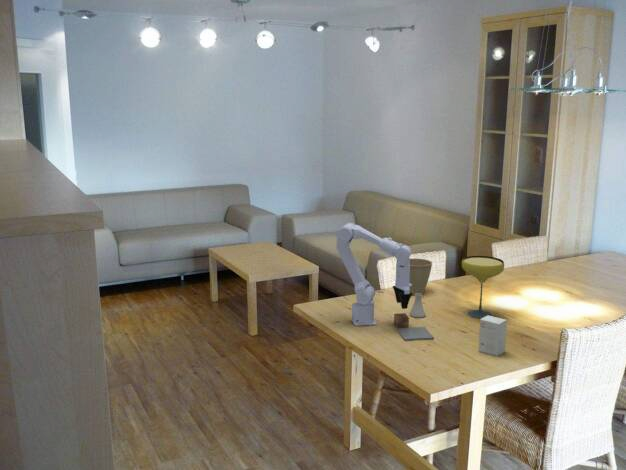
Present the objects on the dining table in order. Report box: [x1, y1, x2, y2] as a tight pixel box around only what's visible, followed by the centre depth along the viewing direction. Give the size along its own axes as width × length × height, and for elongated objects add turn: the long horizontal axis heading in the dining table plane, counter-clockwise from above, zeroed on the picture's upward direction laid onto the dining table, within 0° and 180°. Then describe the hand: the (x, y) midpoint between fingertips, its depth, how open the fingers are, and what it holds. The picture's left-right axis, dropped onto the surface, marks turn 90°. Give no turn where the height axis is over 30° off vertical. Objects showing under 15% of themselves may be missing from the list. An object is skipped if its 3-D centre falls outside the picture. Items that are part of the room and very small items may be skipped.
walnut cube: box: [393, 312, 410, 329], centre depth 265 cm, size 5×5×5 cm
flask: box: [409, 293, 427, 319], centre depth 278 cm, size 7×7×10 cm
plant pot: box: [409, 258, 433, 296], centre depth 309 cm, size 15×15×16 cm
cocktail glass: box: [461, 255, 505, 320], centre depth 277 cm, size 18×18×25 cm
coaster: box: [396, 326, 435, 342], centre depth 256 cm, size 12×12×1 cm
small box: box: [478, 315, 507, 357], centre depth 238 cm, size 8×6×13 cm
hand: (401, 305), depth 264 cm, fingers open, 7 cm apart
